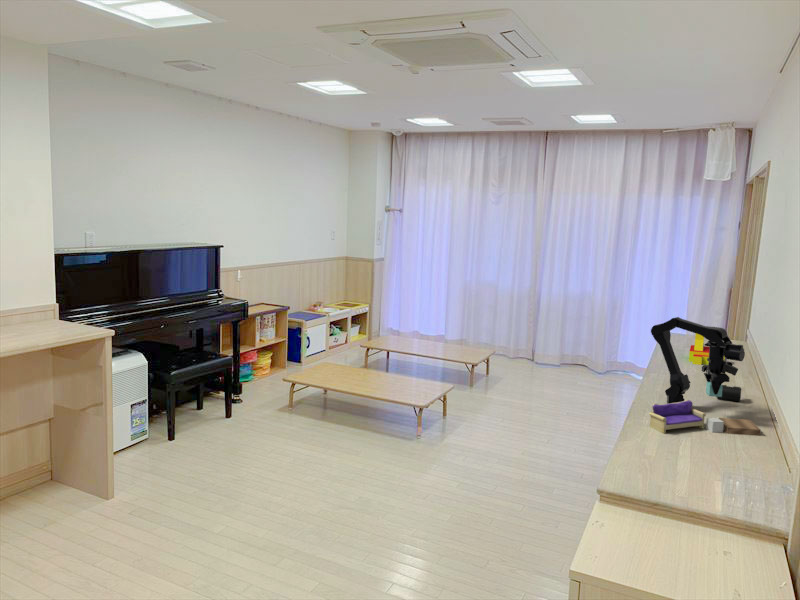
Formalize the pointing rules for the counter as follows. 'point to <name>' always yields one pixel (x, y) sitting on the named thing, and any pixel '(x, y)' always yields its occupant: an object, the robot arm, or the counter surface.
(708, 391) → the teal block
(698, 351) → the building blocks toy
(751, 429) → the base block
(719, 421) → the grey cube
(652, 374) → the counter surface
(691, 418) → the toy sofa
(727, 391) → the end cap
